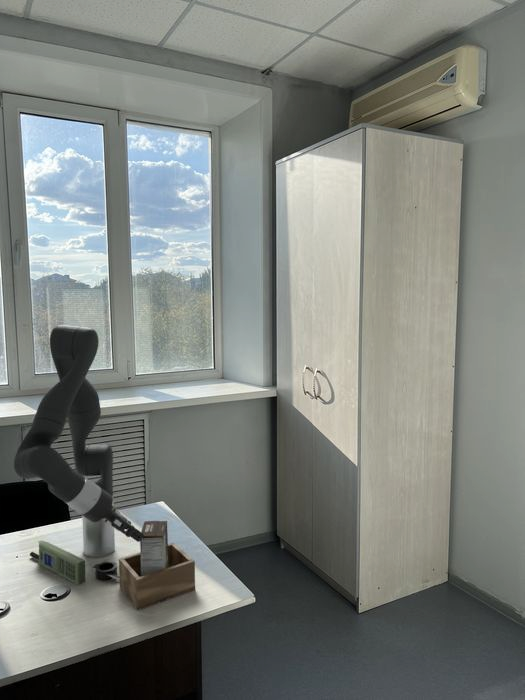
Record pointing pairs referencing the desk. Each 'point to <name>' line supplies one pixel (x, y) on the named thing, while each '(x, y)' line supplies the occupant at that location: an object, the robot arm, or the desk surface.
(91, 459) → the robot arm
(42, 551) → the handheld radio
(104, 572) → the black wing nut
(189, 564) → the walled box
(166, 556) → the coffee box
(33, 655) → the desk surface
